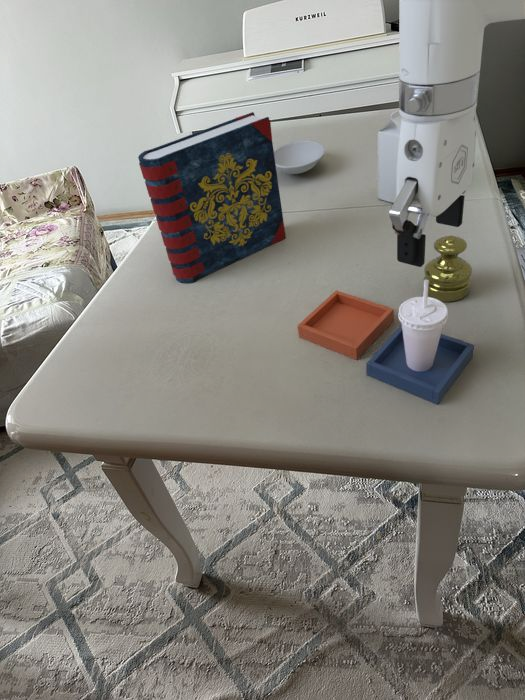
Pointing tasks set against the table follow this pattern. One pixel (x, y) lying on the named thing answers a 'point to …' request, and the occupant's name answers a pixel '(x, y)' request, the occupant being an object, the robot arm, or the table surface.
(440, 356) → the blue tray
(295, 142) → the dish
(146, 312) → the table surface
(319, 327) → the terracotta tray
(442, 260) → the brass weight
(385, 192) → the milk carton
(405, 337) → the smoothie
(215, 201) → the book
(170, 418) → the table surface
